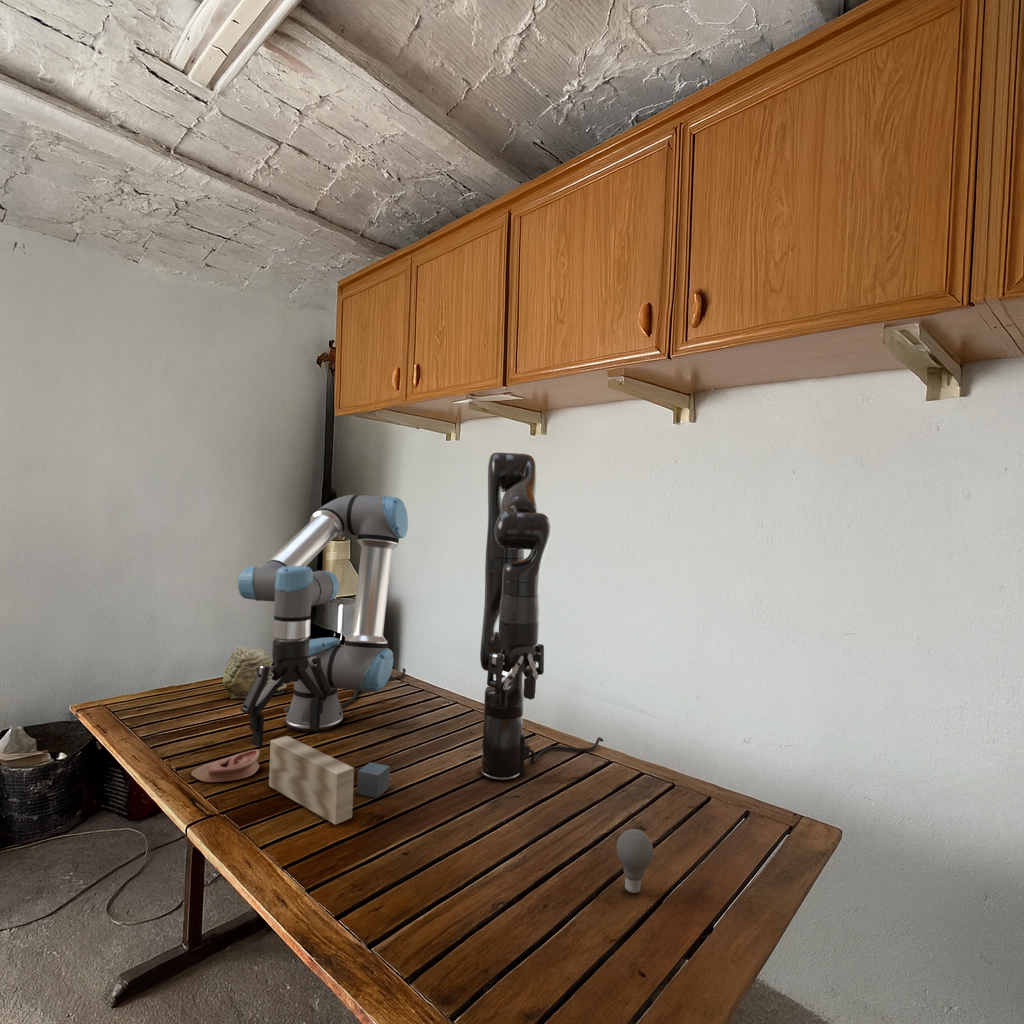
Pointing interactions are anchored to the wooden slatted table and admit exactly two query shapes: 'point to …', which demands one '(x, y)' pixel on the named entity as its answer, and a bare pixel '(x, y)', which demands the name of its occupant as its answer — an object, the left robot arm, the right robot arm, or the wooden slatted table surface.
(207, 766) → the anatomical model
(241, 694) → the fossil
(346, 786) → the ash block
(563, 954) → the wooden slatted table surface
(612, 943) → the wooden slatted table surface
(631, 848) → the light bulb
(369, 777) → the slate cube
